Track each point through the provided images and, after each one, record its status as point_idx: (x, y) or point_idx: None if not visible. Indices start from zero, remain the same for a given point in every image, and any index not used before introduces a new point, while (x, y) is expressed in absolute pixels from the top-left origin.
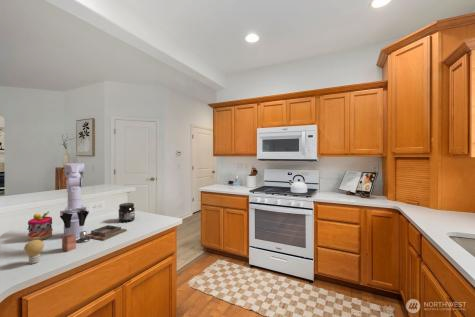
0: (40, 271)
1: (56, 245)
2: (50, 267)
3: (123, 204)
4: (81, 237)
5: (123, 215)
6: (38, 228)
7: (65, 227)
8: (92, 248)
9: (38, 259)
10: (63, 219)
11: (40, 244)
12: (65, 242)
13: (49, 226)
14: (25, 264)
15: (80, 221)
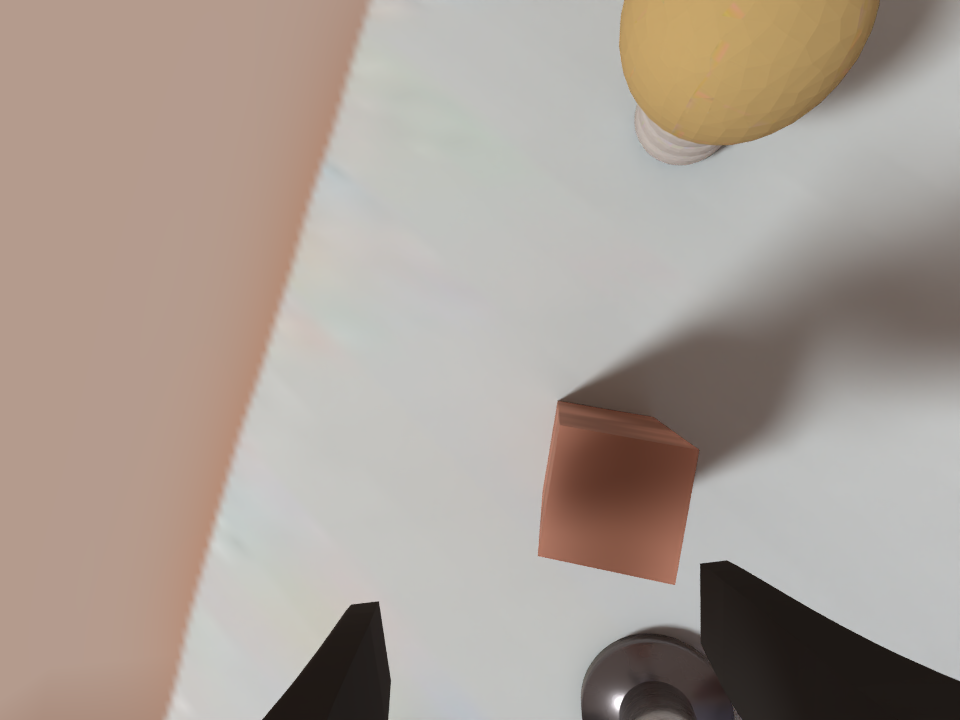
0: (429, 8)
1: (880, 534)
2: (409, 87)
3: None
4: (654, 709)
5: None
6: None
7: (737, 567)
8: (357, 518)
9: (640, 122)
10: (932, 698)
11: (638, 17)
12: (601, 421)
13: None
14: None
15: (302, 675)
